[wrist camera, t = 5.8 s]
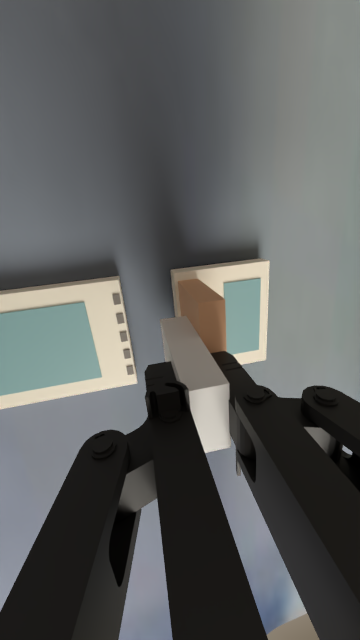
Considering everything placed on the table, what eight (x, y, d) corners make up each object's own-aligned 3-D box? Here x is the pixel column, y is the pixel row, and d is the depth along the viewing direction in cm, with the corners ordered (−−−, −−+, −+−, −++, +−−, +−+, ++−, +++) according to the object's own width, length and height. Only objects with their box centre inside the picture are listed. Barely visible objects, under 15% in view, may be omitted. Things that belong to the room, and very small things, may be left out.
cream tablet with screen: (-1, 398, 17) (-11, 412, 16) (-45, 296, 14) (-61, 303, 13) (136, 373, 18) (137, 384, 17) (119, 275, 16) (118, 279, 14)
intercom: (180, 366, 18) (202, 424, 13) (170, 269, 16) (192, 292, 11) (257, 352, 19) (308, 400, 14) (260, 258, 17) (322, 273, 11)
